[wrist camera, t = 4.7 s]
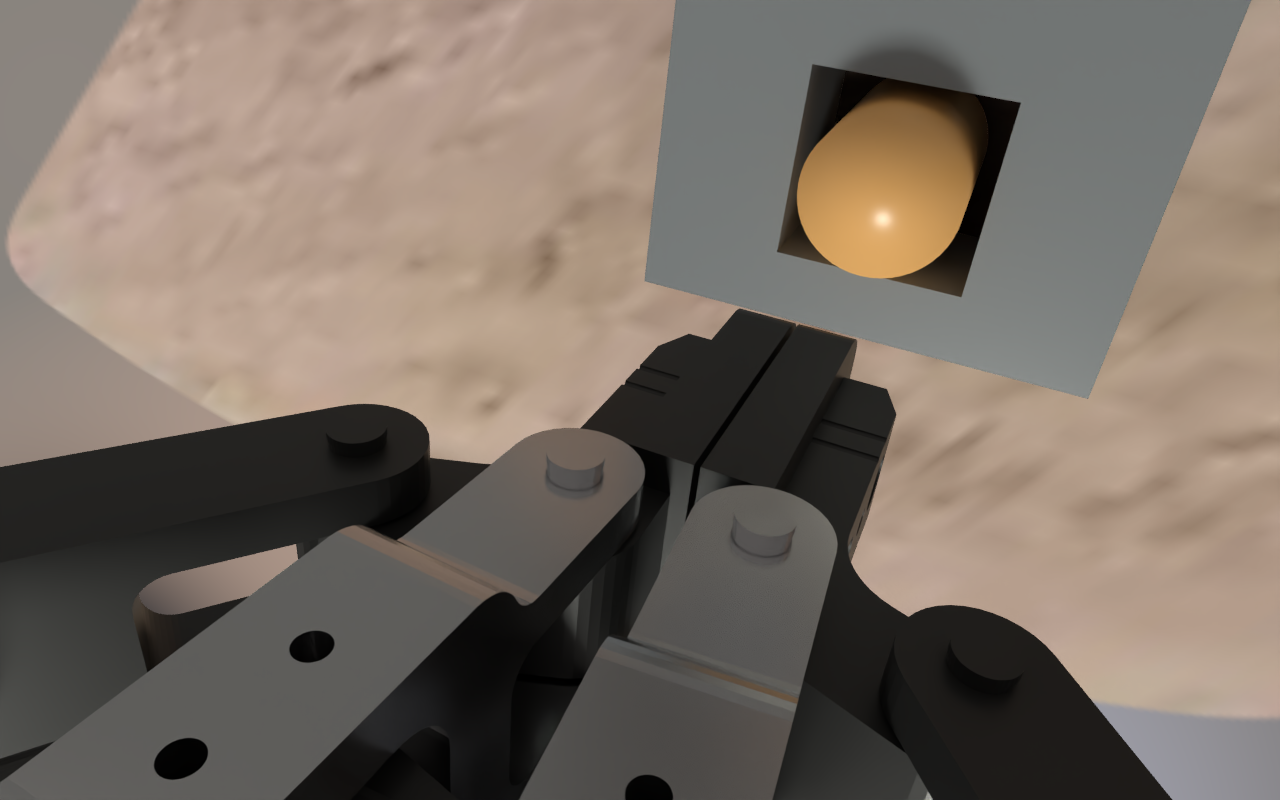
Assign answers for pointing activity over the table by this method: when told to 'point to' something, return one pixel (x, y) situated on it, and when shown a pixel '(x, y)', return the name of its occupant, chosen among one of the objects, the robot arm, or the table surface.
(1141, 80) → the block
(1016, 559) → the table surface
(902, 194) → the plunger
